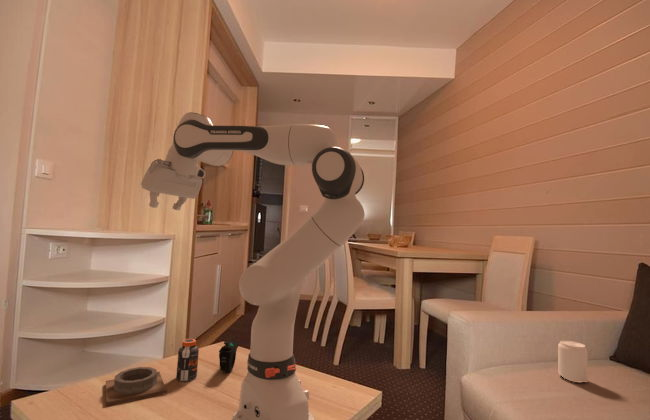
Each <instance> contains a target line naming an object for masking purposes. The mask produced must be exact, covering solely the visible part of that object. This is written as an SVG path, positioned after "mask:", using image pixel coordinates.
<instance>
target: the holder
mask: <svg viewBox="0 0 650 420" xmlns="http://www.w3.org/2000/svg"><path fill="white" fill-rule="evenodd" d="M166 394H167V388H166V385H165V383H164V381H163V378H162V375H161V372H160V371H157V369H156V368H153V367H151V366H138V367H133V368H128V369H124V370H122V371H119V373H117V374H116V375H114V379H109V380H108V379H107V380H106V381H105V405H106V406H105V407H109V406H114V405H115V406H116V405H118V404H122V403H128V402H134V401H137V400H142V399H146V398H147V399H148V398H152V397H157V396H161V395H166Z"/></svg>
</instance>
